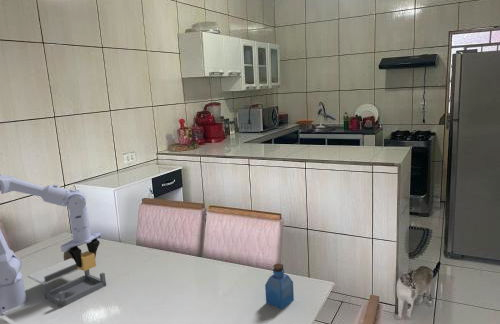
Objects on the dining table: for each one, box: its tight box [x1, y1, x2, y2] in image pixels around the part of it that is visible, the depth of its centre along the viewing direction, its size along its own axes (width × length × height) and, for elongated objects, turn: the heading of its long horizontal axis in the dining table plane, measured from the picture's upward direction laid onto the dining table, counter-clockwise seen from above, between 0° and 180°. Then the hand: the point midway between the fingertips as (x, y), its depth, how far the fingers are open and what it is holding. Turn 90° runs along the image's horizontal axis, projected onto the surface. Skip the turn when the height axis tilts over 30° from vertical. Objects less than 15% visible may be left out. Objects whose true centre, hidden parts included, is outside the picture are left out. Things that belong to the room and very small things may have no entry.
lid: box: [27, 258, 80, 286], centre depth 138 cm, size 16×11×2 cm
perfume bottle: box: [264, 263, 295, 310], centre depth 120 cm, size 6×6×12 cm
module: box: [77, 250, 97, 272], centre depth 134 cm, size 4×4×5 cm
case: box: [42, 269, 107, 308], centre depth 133 cm, size 16×11×6 cm
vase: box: [63, 246, 83, 261], centre depth 157 cm, size 7×7×9 cm
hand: (86, 263), depth 135 cm, fingers closed on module, 4 cm apart
